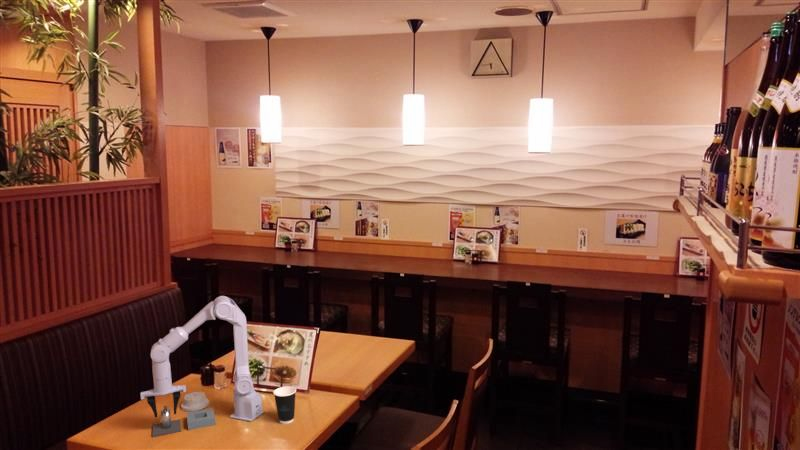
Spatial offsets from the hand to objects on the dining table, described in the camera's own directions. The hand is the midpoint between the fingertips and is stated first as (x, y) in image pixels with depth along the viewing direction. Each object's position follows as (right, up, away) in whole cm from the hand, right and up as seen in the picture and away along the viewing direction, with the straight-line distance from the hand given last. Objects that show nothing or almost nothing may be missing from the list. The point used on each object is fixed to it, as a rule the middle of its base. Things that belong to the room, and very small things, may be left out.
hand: (165, 414), depth 204 cm
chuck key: (0, -4, +1) cm, 4 cm away
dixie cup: (+41, -3, +3) cm, 41 cm away
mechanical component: (+4, -3, +19) cm, 19 cm away
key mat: (0, -5, +1) cm, 5 cm away
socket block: (+11, -4, +5) cm, 12 cm away
